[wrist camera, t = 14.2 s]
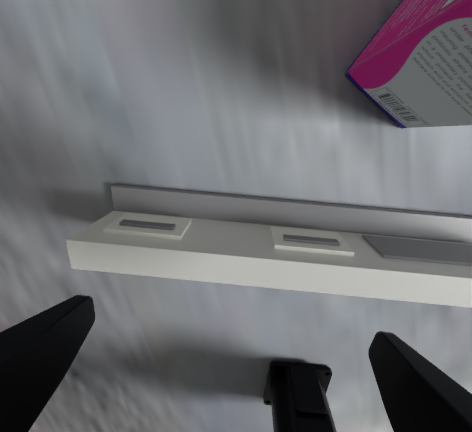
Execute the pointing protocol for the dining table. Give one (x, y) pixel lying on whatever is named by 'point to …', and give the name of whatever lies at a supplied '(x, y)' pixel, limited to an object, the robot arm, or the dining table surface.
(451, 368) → the dining table surface
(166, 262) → the panel
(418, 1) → the supplement box
